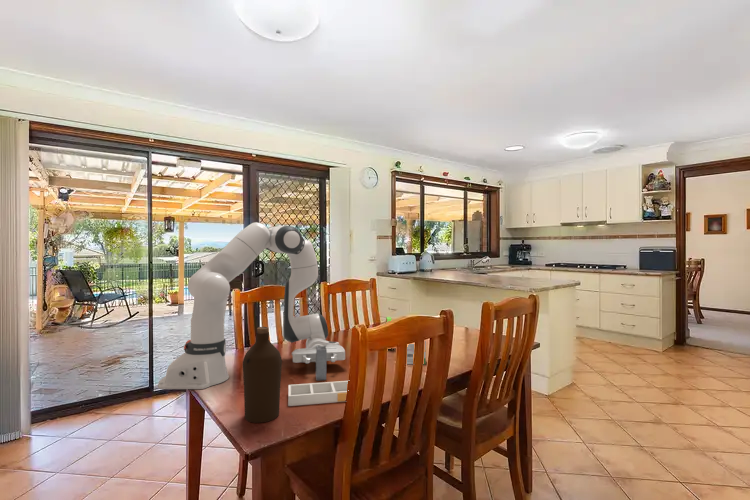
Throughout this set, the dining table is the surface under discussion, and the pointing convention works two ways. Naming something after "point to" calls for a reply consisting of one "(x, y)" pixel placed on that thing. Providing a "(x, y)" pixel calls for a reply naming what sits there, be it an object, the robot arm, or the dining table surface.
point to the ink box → (411, 351)
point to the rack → (317, 393)
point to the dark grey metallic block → (321, 363)
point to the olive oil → (262, 379)
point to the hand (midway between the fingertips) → (320, 360)
